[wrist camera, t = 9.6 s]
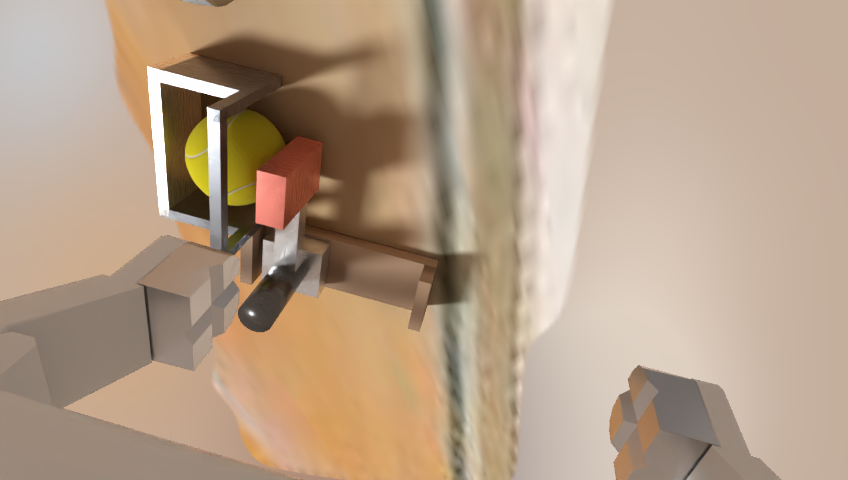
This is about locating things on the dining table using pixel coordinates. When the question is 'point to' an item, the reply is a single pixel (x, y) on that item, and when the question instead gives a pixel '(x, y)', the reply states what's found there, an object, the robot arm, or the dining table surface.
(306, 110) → the dining table surface
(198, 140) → the tennis ball
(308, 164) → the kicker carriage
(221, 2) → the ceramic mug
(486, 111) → the dining table surface
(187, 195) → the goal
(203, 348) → the robot arm
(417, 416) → the dining table surface
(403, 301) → the track
